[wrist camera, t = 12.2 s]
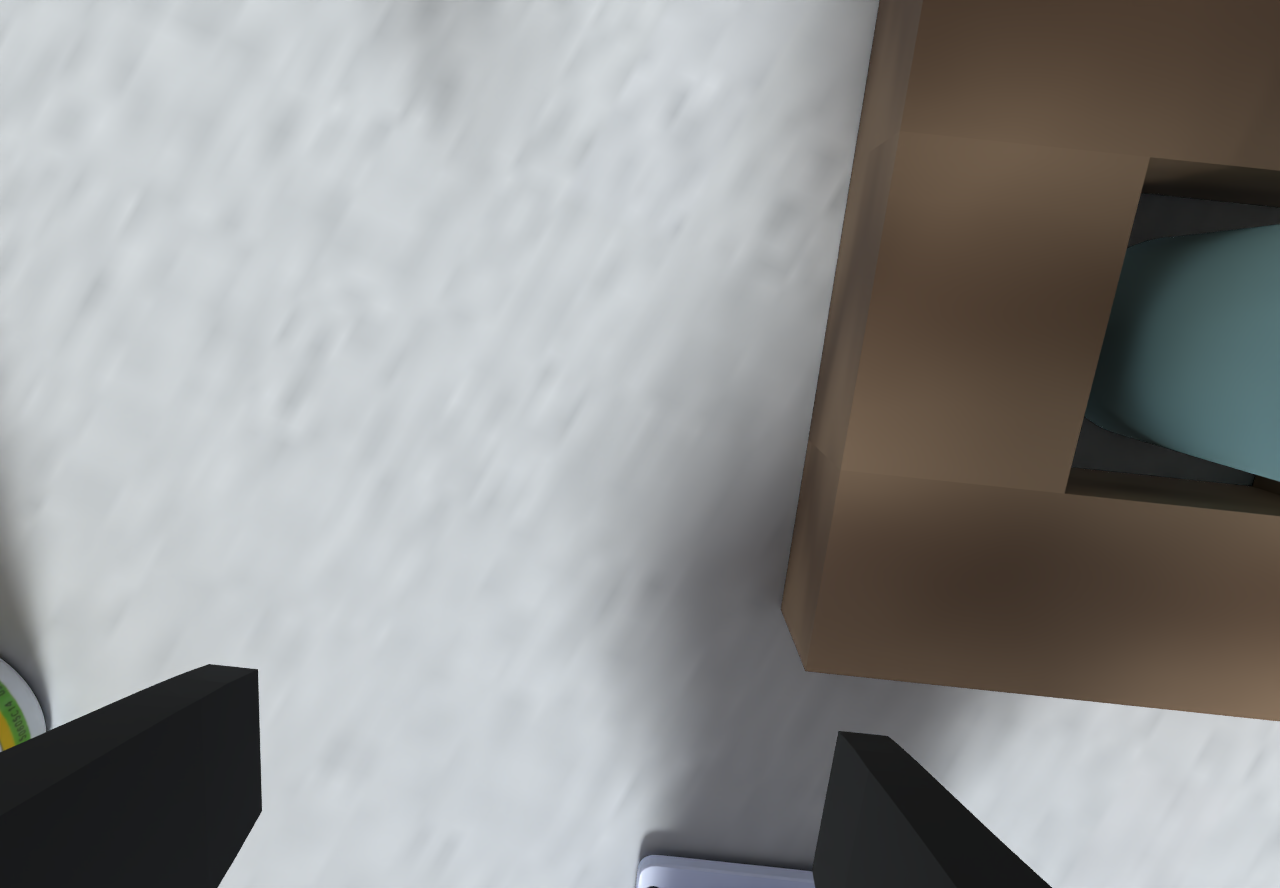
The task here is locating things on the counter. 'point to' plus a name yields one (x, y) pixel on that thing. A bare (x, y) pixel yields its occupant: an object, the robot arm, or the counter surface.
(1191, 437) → the teal peg
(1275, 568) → the walnut well block
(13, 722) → the supplement bottle
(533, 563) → the counter surface
